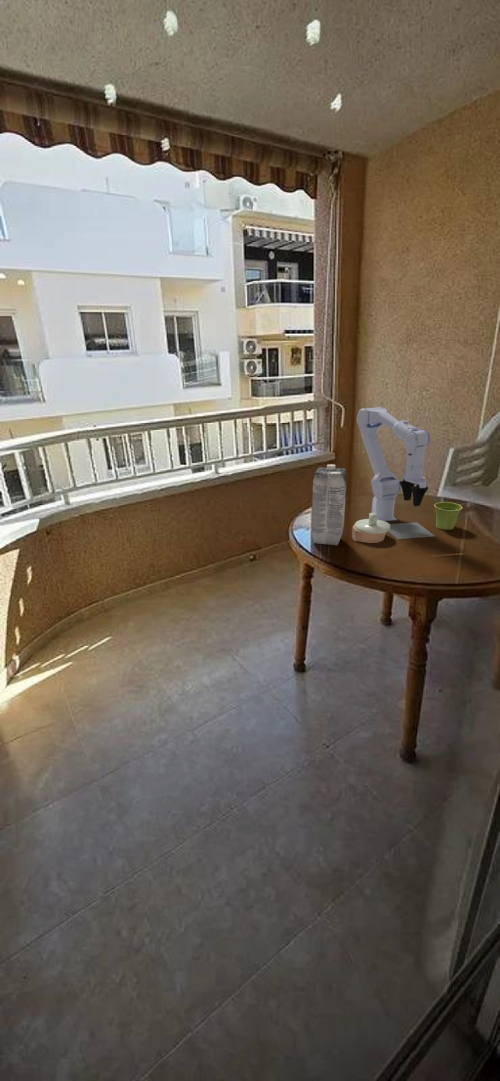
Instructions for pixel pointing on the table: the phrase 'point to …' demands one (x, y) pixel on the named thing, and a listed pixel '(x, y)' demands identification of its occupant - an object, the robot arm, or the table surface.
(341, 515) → the juice carton
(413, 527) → the mat
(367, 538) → the bowl
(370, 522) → the lid
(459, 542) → the table surface
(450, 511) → the plant pot
